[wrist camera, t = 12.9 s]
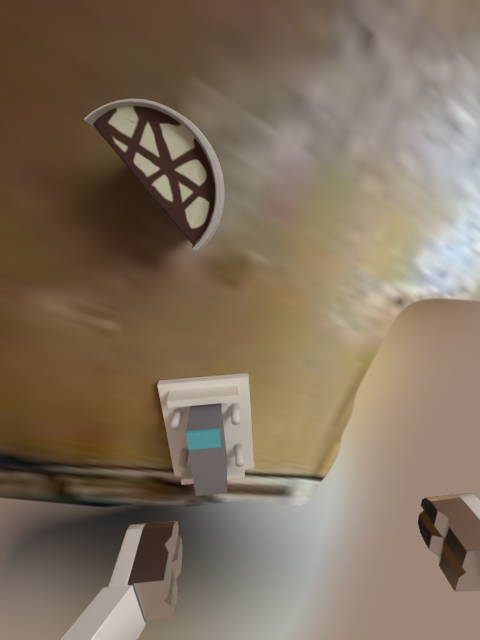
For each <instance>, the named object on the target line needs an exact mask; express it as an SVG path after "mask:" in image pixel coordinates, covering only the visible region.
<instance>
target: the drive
mask: <svg viewBox="0 0 480 640" xmlns="http://www.w3.org/2000/svg"><path fill="white" fill-rule="evenodd" d="M186 438H187V444H188V450H189V457H190V463H191V469H192V475H193V482H194V488H195V494H196V496H200V495H210V494H221V493H227V454H226V444H225V434H224V425H223V415H222V405H221V403H218V404H207V405H195V406H190V411H189V416H188V422H187V428H186Z"/></svg>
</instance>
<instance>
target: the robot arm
mask: <svg viewBox="0 0 480 640" xmlns="http://www.w3.org/2000/svg"><path fill="white" fill-rule="evenodd" d="M421 506H422V508H423V509H424V511H423V512H422V513H421V514H420V515H419V519H418V524H419V529H420V533H421V535H422V537H423V539H424V541H425V543H426V545H427V546H428V548H429V549H430V550H431V551H432V552H434V553H435V554H436V555H438V556H439V566H440V568H441V570H442V571H443V573H444V574H445V576H446V578H447V580H448V581H449V583H450V584H451V586H452V588H453V589H454V591H455V592H458V591H475V590H480V500H479V499H478V498H477V497H476V496H474V495H473V494H470V493H466V494H458V495H444V496H435V497H427V498H424V499H423V500H422V503H421ZM178 530H179V527H178V523H177V521H175V522H162V523H149V524H136V525H130V526H129V528H128V529H127V531H126V534H125V537H124V540H123V543H122V546H121V549H120V552H119V556H118V558H117V562H116V564H115V568H114V570H113V574H112V577H111V580H110V583H109V586H108V587H105V588H102V590H101V591H100V592H99V593H98V594H97V596H96V597H95V598H94V599H93V601H92V602H91V603H90V604H89V605H88V607H87V608H86V609H85V610H84V612H83V613H82V614H81V615H80V616H79V618H78V619H77V620H76V621H75V623H74V624H73V625H72V626H71V627H70V628H69V630H68V631H67V632H66V633H65V635H64V636H63V637H62V638H61V639H60V640H137V639H138V637H139V636H140V634H141V632H142V630H143V629H144V627H145V622H152V621H160V620H168V619H174V618H175V611H176V603H177V596H178V587H177V583H176V579H177V577H178V576H179V574H180V573H181V566H182V551H183V549H182V540H181V537H180V536H179V535H178Z"/></svg>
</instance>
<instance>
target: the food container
mask: <svg viewBox="0 0 480 640" xmlns="http://www.w3.org/2000/svg"><path fill="white" fill-rule="evenodd" d="M84 120H85V121H86V122H88V123H89V124H90V125H91V126H93V127H94V128H95V129H96V130H98V132H99V133H100V135H102V136H103V137H104V138H105V140H106V141H107V142H108V143H109V144H110V145H111V147H112V148H113V149H114V150H115V151H116V153H117V154H118V155H119V156H120V158H121V159H122V160H123V161H124V162H125V164H126V165H127V166H128V167H129V168H130V170H131V171H132V172H133V173H134V175H135V176H136V177H137V178H138V180H139V181H140V182H141V183H142V184H143V186H144V187H145V188H146V189H147V191H148V192H149V193H150V194H151V195H152V196H153V198H154V199H155V200H156V201H157V202H158V203H159V205H160V206H161V207H162V208H163V209H164V211H165V212H166V213H167V214H168V215H169V217H170V218H171V219H172V220H173V221H174V223H175V224H176V225H177V226H178V227H179V229H180V230H181V231H182V232H183V233H184V235H185V236H186V237H187V238H188V239H189V240H190V242H191V243H192V244H193V248H192V249H194V250H195V251H197V252H200V251H201V250H202V249H203V248H204V247H205V246H206V245H207V244H208V242H209V241H210V240H211V238H212V237H213V235H214V233H215V231H216V229H217V227H218V225H219V222H220V219H221V216H222V213H223V206H224V191H225V189H224V181H223V174H222V171H221V167H220V164H219V161H218V159H217V156H216V154H215V152H214V150H213V148H212V146H211V145H210V143H209V142H208V140H207V138H206V137H205V136H204V135H203V134H202V132H201V131H200V130H199V129H198V128H197V127H196V126H195V125H194V124H193V123H192V122H190V121H189V120H188V119H187V118H186V117H184V116H182V115H181V114H179V113H178V112H176V111H174V110H173V109H171V108H169V107H167V106H164V105H162V104H160V103H157V102H153V101H149V100H144V99H125V100H118V101H115V102H112V103H109V104H106V105H104V106H102V107H100V108H98V109H96V110H95V111H93V112H92V113H90V114H89V115H88V116H87V117H86V118H85V119H84Z"/></svg>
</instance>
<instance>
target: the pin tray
mask: <svg viewBox="0 0 480 640" xmlns="http://www.w3.org/2000/svg"><path fill="white" fill-rule="evenodd" d="M157 386H158V391H159V396H160V402H161V407H162V412H163V417H164V423H165V428H166V433H167V439H168V444H169V449H170V454H171V460H172V465H173V470H174V476H181V484H182V485H184V484H194V482H193V475H192V469H191V463H190V457H189V450H188V444H187V438H186V428H187V422H188V416H189V411H190V406H195V405H207V404H218V403H221V405H222V415H223V425H224V434H225V444H226V454H227V480H236V479H245V470H248V469H254V457H253V441H252V425H251V409H250V392H249V377H248V373H242V374H230V375H219V376H207V377H195V378H184V379H172V380H160V381H159V382H158V384H157Z"/></svg>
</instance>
